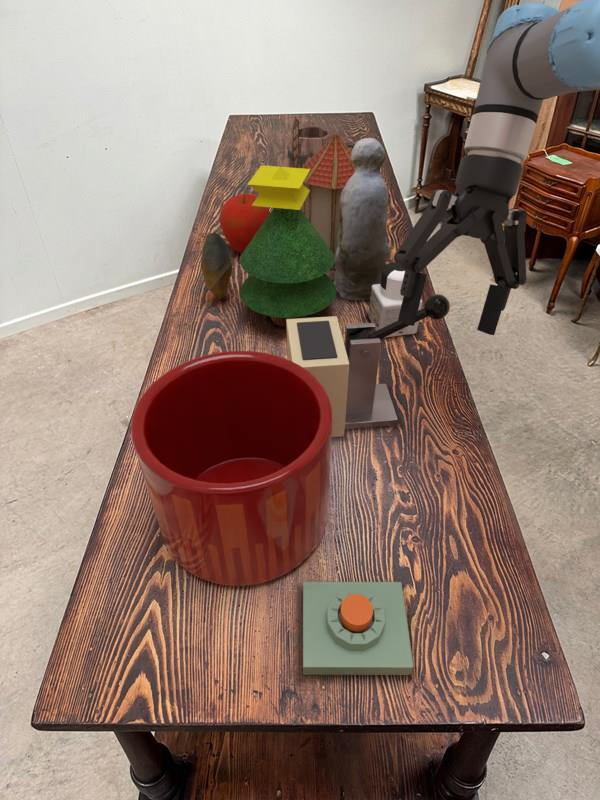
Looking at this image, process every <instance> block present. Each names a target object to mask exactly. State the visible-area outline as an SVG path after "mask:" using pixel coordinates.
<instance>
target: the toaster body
mask: <svg viewBox="0 0 600 800" xmlns="http://www.w3.org/2000/svg"><path fill="white" fill-rule="evenodd" d="M286 359H288V360H290V361H292V362H294V363H296V364H298V365H300V366H301V367H303V368H304V369H306V370H307V371H309V372H310V373H311V374H312V375H313V376H314V377H315V378H316V379H317V380H318V381H319V382H320V384H321V385H322V386H323V387H324V389H325V391H326V393H327V395H328V397H329V400H330V404H331V408H332V437H331V438H342V437H345V431H346V429H345V417H346V404H347V390H348V377H349V360H348V357H347V353H346V349H345V341H344V338H343V334H342V331H341V326H340V322H339V320H338V316H336V315H335V316H333V315H332V316H320V317H319V316H318V317H316V316H315V317H306V318H299V319H286Z"/></svg>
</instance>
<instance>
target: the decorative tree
mask: <svg viewBox="0 0 600 800" xmlns="http://www.w3.org/2000/svg"><path fill="white" fill-rule="evenodd" d="M309 171H310V169H303V168H290V167H288V166H278V165H277V166H275V165H260V167H259V168H258V169H257V170H256V172H255V174H253V176H252V177H251V179H249V181H248V183H247V186H249V187H250V188H251V189H253V190H255V191H256V193H259V194H258V195H257V196H258V197H257V199H256V200H255V201H254V203H253V204H252V206H261V207H268V208H272V209H271V211H270V214H269V215H268V217H267V218H266V220H265V221H264V223H263V224H262V226H261V227H260V229H259V230H258V231H257V233H256V234H255V236H254V237H253V239H252V240H251V242H250V243H249V245H248V246H247V247H246V249H245V250H244V252H243V253H241V255H240V258H239V263H240V267H241V268H242V269H243V270H244V272H245V273H247V274H248V276H247V277H246V279H244V280H243V282H242V284H241V285H240V288H239V297H240V300H241V302H242V303H243V304H244V306H246V307H247V308H248V309H250V310H252V311H254V312H256V313H257V314H261V315H263V316H267V317H270V319H271V321H272V322H273V323H274V324H275V325H278V326H280V327H286V319H299V318H307V316H310V315H314V314H316V313H318V312H321V311H322V310H324V309H326V308H327V307H329V306H330V305H331V304H332V303H333V302H334V300H335V298H336V296H337V291H336V286H335V284H334V280H332V279H331V278H330V276H329V275H328V274H327V273H328V272H329V271H330V270H331V268H332V267H333V265H334V263H335V256H334V254H333V252H332V251H331V249H330V248H329V247H328V245H327V244H326V243H325V241H324V240H323V239H322V237H321V236H320V235H319V233H318V232H317V231H316V229H315V228H314V227H313V225H312V224H311V223H310V221H309V220H308V219H307V217H306V216H305V215H304V214H303V212H302V211H301V210H300V208H301V207H302V205H303V203H304V201H305V199H306V197H307V195H308V193H309V191H310V190H309V189H308V188H306V187H305V186H304V185H303V184H302V183H303V181H304V180H305V178H306V176H307V174H308V172H309ZM286 328H287V327H286Z"/></svg>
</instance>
